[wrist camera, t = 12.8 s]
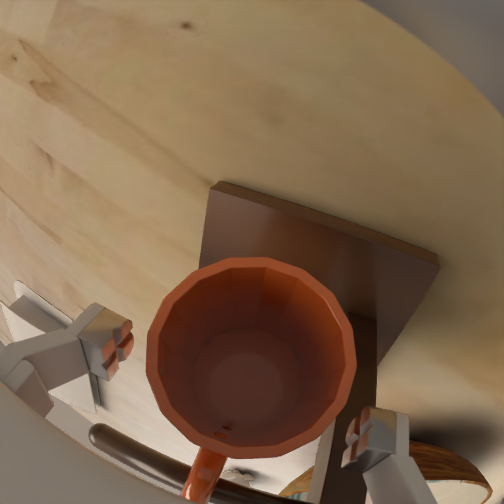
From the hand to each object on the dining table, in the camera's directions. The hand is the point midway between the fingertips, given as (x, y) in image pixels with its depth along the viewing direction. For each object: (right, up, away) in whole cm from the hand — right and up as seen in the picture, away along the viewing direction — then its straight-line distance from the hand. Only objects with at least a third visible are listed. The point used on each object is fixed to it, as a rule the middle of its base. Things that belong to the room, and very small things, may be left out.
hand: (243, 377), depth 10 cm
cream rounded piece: (-2, -33, +34) cm, 47 cm away
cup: (-1, -5, +6) cm, 8 cm away
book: (-29, -11, +30) cm, 43 cm away
